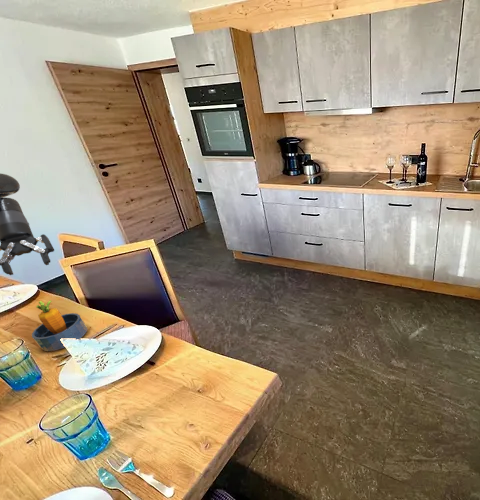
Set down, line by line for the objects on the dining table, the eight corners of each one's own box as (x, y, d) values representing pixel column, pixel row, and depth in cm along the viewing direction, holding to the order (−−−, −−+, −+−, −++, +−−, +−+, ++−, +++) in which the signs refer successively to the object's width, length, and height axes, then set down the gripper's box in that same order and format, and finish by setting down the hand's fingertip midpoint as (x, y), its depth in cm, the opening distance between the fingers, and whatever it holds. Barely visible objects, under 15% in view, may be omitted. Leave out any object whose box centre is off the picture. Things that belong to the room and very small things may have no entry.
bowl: (35, 357, 91) (24, 344, 88) (49, 333, 101) (40, 320, 98) (82, 343, 96) (73, 330, 93) (92, 321, 105) (84, 309, 102)
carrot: (58, 335, 99) (33, 300, 92) (76, 329, 101) (53, 295, 94) (52, 344, 95) (26, 309, 88) (71, 339, 97) (47, 303, 90)
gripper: (-27, 228, 89) (-10, 273, 87) (36, 215, 97) (53, 256, 95) (-12, 239, 95) (4, 281, 93) (46, 226, 103) (62, 264, 101)
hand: (29, 269), depth 94 cm, fingers open, 8 cm apart
